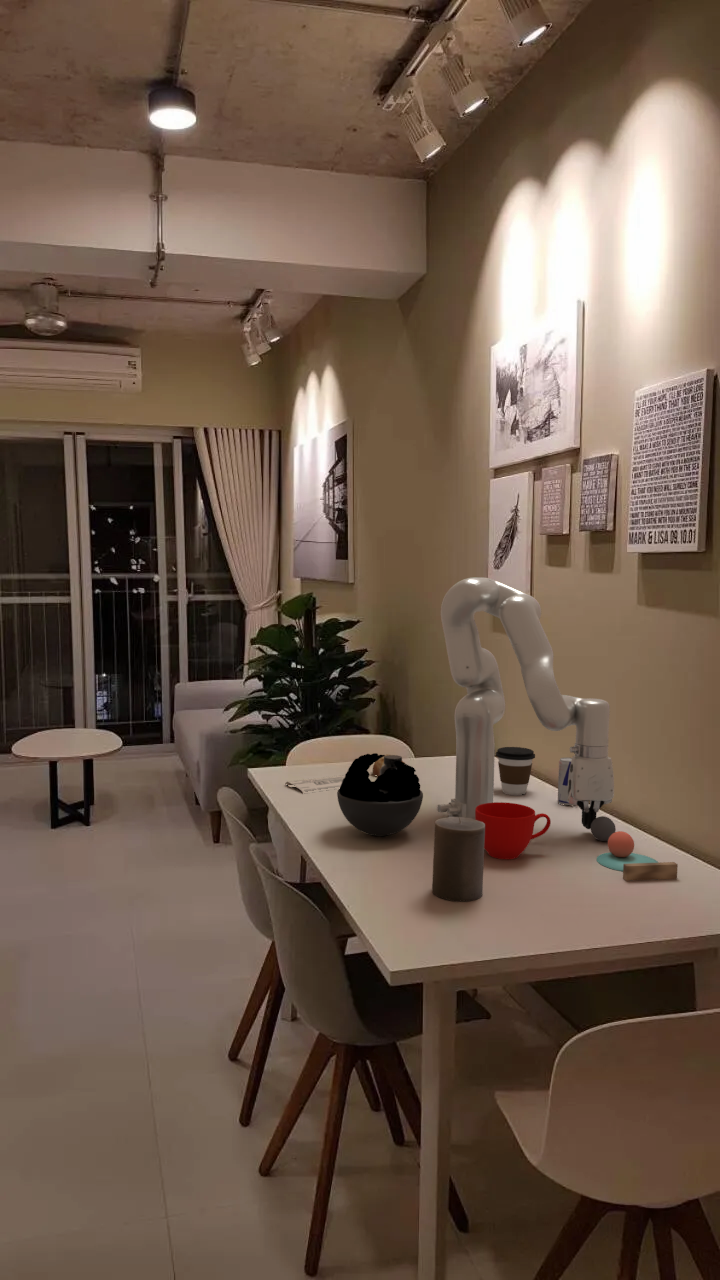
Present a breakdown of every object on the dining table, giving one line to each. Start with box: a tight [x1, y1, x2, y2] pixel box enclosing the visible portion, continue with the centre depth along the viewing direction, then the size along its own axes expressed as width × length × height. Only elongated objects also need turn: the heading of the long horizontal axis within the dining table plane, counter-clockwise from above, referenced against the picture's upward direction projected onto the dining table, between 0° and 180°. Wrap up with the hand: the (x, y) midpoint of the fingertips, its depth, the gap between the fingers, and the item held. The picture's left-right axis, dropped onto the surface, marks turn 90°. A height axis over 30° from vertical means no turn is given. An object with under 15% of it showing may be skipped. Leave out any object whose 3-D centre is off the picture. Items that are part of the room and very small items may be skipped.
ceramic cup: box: [475, 801, 552, 860], centre depth 199 cm, size 13×17×10 cm
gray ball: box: [590, 815, 617, 842], centre depth 210 cm, size 6×6×6 cm
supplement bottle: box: [380, 754, 403, 775], centre depth 242 cm, size 7×7×12 cm
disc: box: [596, 851, 660, 872], centre depth 195 cm, size 13×13×1 cm
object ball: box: [607, 831, 635, 858], centre depth 198 cm, size 6×6×6 cm
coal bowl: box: [336, 752, 424, 837], centre depth 212 cm, size 20×20×19 cm
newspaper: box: [285, 774, 345, 793], centre depth 259 cm, size 23×12×2 cm, turn 122°
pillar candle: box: [431, 816, 485, 903], centre depth 174 cm, size 10×10×15 cm
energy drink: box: [557, 757, 574, 806], centre depth 242 cm, size 5×5×12 cm
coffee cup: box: [495, 746, 536, 796], centre depth 253 cm, size 11×11×12 cm
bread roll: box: [372, 753, 406, 776], centre depth 273 cm, size 10×10×8 cm
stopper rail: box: [622, 861, 679, 882], centre depth 185 cm, size 11×2×3 cm, turn 99°
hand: (588, 827), depth 215 cm, fingers closed
